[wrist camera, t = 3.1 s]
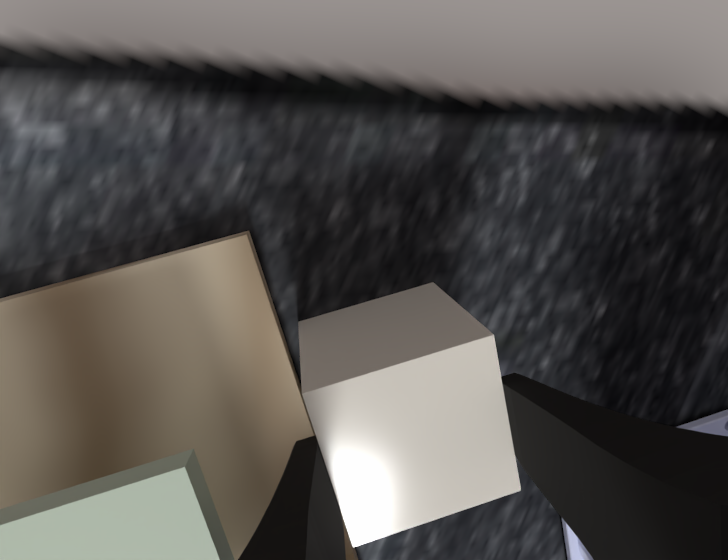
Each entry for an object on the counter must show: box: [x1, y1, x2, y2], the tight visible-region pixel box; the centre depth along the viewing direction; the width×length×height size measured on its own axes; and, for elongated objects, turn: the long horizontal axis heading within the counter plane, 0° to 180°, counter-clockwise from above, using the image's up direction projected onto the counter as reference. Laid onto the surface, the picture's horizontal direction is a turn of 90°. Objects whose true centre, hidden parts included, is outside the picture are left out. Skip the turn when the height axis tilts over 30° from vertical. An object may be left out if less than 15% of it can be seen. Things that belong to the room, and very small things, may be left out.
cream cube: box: [298, 282, 521, 547], centre depth 14 cm, size 5×5×5 cm
